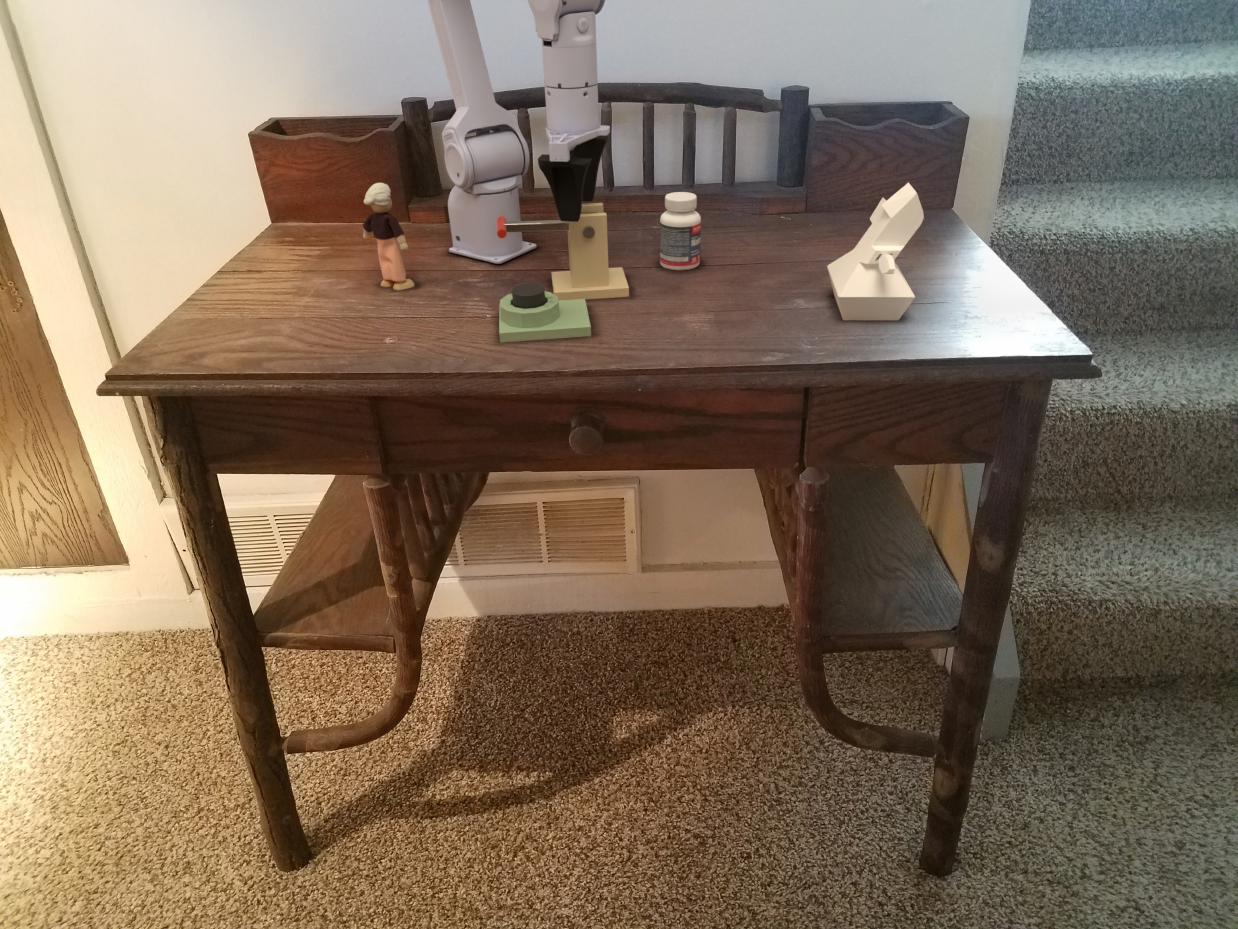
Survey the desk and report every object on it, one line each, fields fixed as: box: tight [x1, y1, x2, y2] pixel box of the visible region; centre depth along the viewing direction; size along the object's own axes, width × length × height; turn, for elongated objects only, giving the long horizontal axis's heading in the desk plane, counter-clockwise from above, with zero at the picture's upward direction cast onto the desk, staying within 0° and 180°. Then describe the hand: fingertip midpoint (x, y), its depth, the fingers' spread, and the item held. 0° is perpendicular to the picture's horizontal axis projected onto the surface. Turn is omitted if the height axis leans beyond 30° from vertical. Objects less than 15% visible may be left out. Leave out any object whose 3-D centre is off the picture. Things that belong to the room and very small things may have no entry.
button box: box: [498, 291, 592, 343], centre depth 98 cm, size 10×8×3 cm
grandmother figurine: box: [362, 182, 416, 291], centre depth 107 cm, size 8×4×13 cm, turn 65°
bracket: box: [550, 202, 630, 301], centre depth 105 cm, size 9×7×10 cm
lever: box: [497, 212, 598, 238], centre depth 103 cm, size 12×5×2 cm, turn 97°
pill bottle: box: [659, 191, 702, 272], centre depth 111 cm, size 5×5×9 cm
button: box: [511, 283, 545, 309], centre depth 97 cm, size 4×4×2 cm
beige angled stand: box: [826, 182, 925, 321], centre depth 96 cm, size 8×14×14 cm, turn 176°
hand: (577, 210), depth 101 cm, fingers open, 7 cm apart
